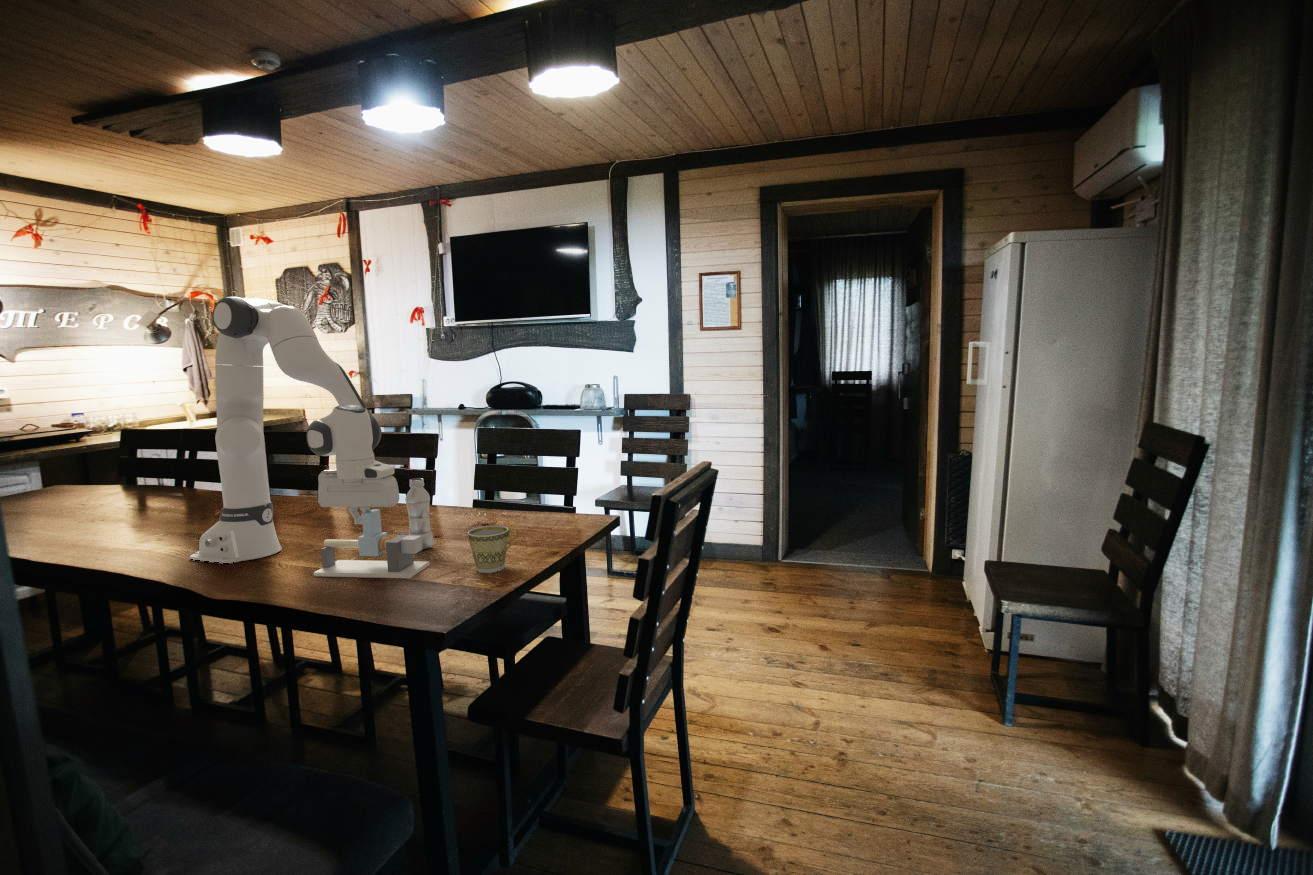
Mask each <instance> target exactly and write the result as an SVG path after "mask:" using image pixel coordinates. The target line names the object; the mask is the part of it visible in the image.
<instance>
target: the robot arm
mask: <svg viewBox="0 0 1313 875" xmlns="http://www.w3.org/2000/svg"><path fill="white" fill-rule="evenodd" d="M212 309H213V310H212V322H213V324H214V327H215V329H216V330H217V331H218V335H217V336H218V337H217V342H216V348H215V357H214V358H215V361H214V362H215V366H214V370H215V373H214V374H215V403H216V404H215V406H216V432H215V436H214V438H215V440H214V441H215V445H216V446H215V447H216V449H215V450H216V455H217V456H216V457H217V462H218V470H219V476H220V484H221V494H222V502H223V507H221V509H220V508H219V509H216V510H214V513H215V512H216V513H215V515H219V514H220V515H219V517H218V521H217V522H216V523H214V525H212V526H210V528H208V529H207V530H206V531H205V532H204V533H203V534H202V535H201V536H200V538H199V543H198V545H199V546H198V548H199V549H198V550H197V551H196V552H194V553H192V554H190V555H189V560H190V559H193V560H192V561H195V560H200V561H199V562H204V561H209V562H208V563H214V562H219V563H218V564H223V563H229V564H234V563H239V562H242V561H243V562H244V561H249V560H255V559H261V558H265V557H268V556H272V555H274V554H277V553H278V552H281V551H282V545H281V544H280V542H279V541H280V540H279V539H278V535H277V532H276V529H275V524H274V519H273V518H274V506H273V501H271V495H270V485H269V484H270V483H269V474H268V464H267V454H266V441H265V435H264V352H263V351H264V348H265V347H266V345H267V344H268V345H270V349H271V352H272V355H273V357H274V360H275V362H276V364H277V365H278V367H279V369H280V370H281V371H282V372H283V374H285V375H286V376H287V377H290V378H291V379H293V380H297V381H300V382H304V383H307V384H311V385H315V386H318V387H320V388H322V389H324V390H327V391H328V392H329V393H330V394H331V395H332V396H333V397H334V399H335V401H336V402H337V404H338V405H337V406H334V408H333V409H332V411H331V412H330V413H329V414H327V415H326V416H324V417H321V418H319V419H317V420H313V421H312V422H311V423H310V424H309V425H308V427H307V430H306V434H305V440H306V445H307V446H308V448H309V449H310V451H311V452H312V453H314V454H315V455H316V456H322V457H328V456H329V457H330V456H335V467H336V468H335V469H324V470H323V471H321V472H320V473H319V475H318V477H317V478H318V481H317V482H318V488H317V489H318V490H317V500H318V501H317V502H318V504H319V505H320V507H321V508H348V512H349V513H350V515H351V516H352V518H353V524H355V525H363V524H362V513H365V512H367V511H370V510H371V508H392V507H394V506H396V505H397V504H398V503H399V502H400V491H399V485H398V481H397V478H395V476H394V474H395V467H394V466H393V465H390V464H387V463H383V462H381V461H378V460H376V459H375V452H374V449H375V448H376V447H377V446H378V445H379V443H380V442H381V439H382V428H381V424H379V423H380V422H379V421H378V420H377V419H376V418H375V416H374V415H373V414H372V413H371V412H370V411H369V409H368V408H367V406H366V404H365V402H364V401H363V399H362V397H361V396H360V394H359V393H358V390H357V389H356V387H355V386H354V384H353V383H352V381H351V379H350V377H349V376H348V374H347V373H346V371H345V370H344V369H343V367H342V366H341V365H340V364H339V363H337V362H336V361H334V360H333V359H332V358H331V357H330V356H329V355H328V354H327V353H326V351H325V350H324V349H323V347H322V345H321V343H320V342H319V340H318V337H317V334H316V332H315V330H314V328H313V327H312V325H311V323H310V322H309V320H308V319H307V317H306V316H305V314H304V312H302V311H301V310H300V309H299V308H297V307H295V306H294V305H291V304H289V303H285V302H278V301H275V300H270V299H264V298H253V297H252V298H251V297H250V298H249V297H240V296H227V297H222V298H220V299H219V300H217V302H216V304H215V305H214V307H213V308H212ZM358 510H360V512H361V515H360V512H359V511H358ZM233 562H234V563H233Z"/></svg>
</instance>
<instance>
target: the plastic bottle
mask: <svg viewBox="0 0 1313 875" xmlns="http://www.w3.org/2000/svg"><path fill="white" fill-rule="evenodd" d="M424 486H425V482H424V478H420V477H419V478H411V479H409V487H410V489H409V490H408V491H407V494H406V495H405V506H406V508H407V514H408V523H409V525H408V526H409V533H408V535H412V536H422V550H423V551H424V550H426V549H430V548H431V547H432V546H433V544H434V535H433V532H432V527H431V521H430V520H431V519H430V505H431V504H430V503H431V496H430V493H429V492H428V491H427V490H426V489H425V487H424ZM422 550H421V551H422Z"/></svg>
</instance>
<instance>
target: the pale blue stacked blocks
mask: <svg viewBox="0 0 1313 875" xmlns="http://www.w3.org/2000/svg"><path fill="white" fill-rule="evenodd" d="M361 514H362V524H361V525H362V533H363V534H362V535H360V536H357V540H358V544H359V548H358V555H359V557H379V556H381V555H383V554H385V553H387V552H386V551H380V549H379V540H380V539H381V538H382V537H388V538H389V536H388V532H386V531H384V532H383V531H382V530H383V529H382V518H381V509H379V508H373V509H370V511H367V512H365V513H362V512H361Z"/></svg>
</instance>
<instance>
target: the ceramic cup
mask: <svg viewBox="0 0 1313 875" xmlns="http://www.w3.org/2000/svg"><path fill="white" fill-rule="evenodd" d="M513 532H516V533H517V536H516V537H515V538H514V539H513V540H512V541H511V542H510V543H509V545H508V540H509V537H510V535H511V534H512V533H513ZM519 537H520V531H519V530H518V529H516V528H511V529H509V527H507V526H504V525H485V526H478V527H475V528H471V529H470V530H468V531H467V538H468V543H469V545H470V550H471V552H472V556H473V561H474V565H475V570H476V571H477V572H478V573H479V574H492V573H497V571H498V572H500V571H502V570H503V569H504V568H505V565H506V564H505V563H506V555H507V553H508V552H507V551H508V549H510V547H511V546H512V545H513V544H514V543H515V542H516V541H517V540H518V539H519Z"/></svg>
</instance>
